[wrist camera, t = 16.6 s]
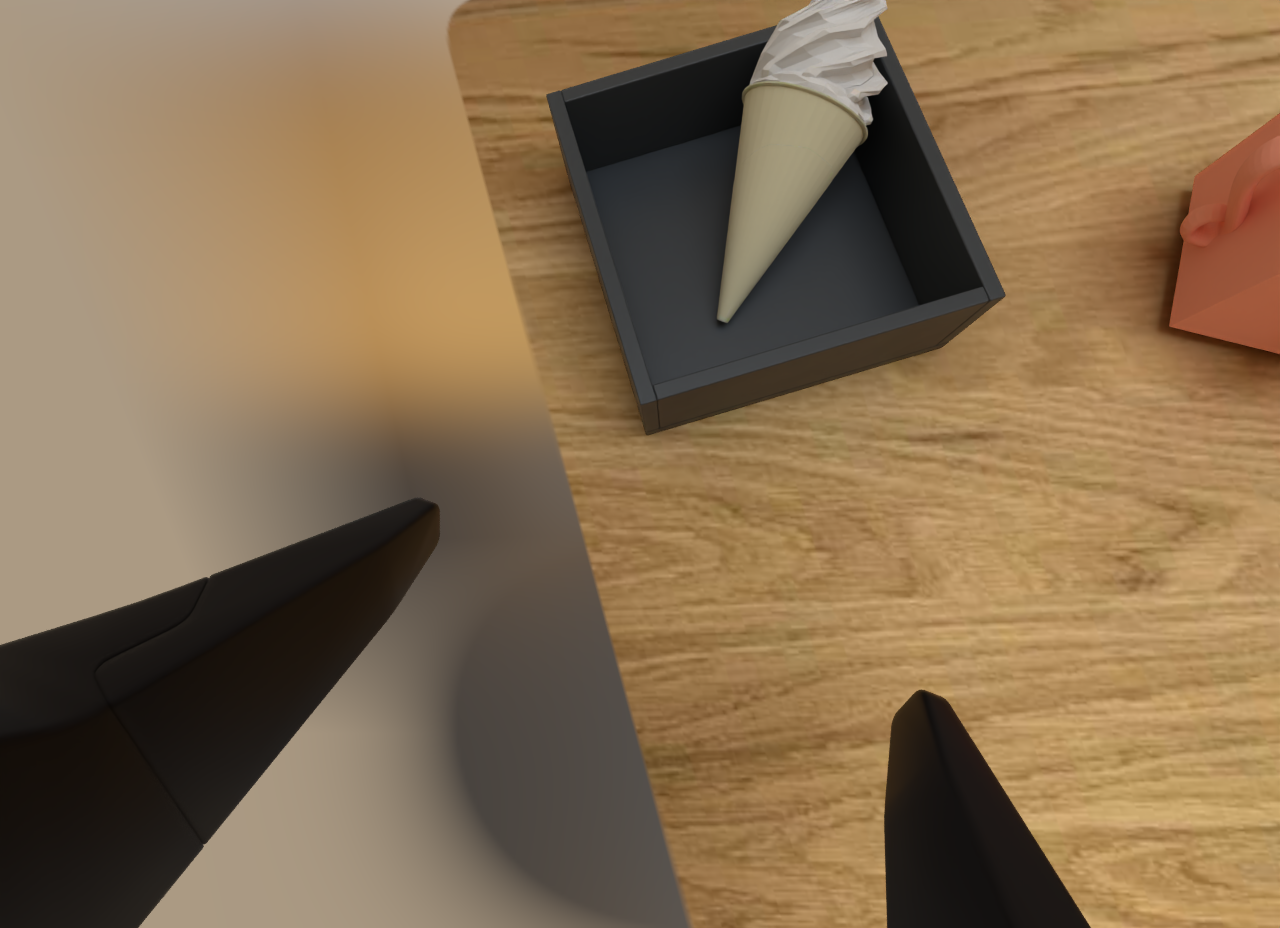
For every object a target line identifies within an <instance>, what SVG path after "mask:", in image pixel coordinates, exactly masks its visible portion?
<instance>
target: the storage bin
mask: <svg viewBox="0 0 1280 928" xmlns="http://www.w3.org/2000/svg"><path fill="white" fill-rule="evenodd" d="M874 23H875V27H876V31H877V35H878V38H879V39H880V41H881V42H882V44H883V45H884V47H885V49H886V52H887V56H884V57H879V58H874V60H873V62H874V64H875V66H876V68H877V69H878V71H879V72H880V74H881V75H882V76H883V77H884V79H885V80H886V81H887V83H888V84H887V85H886V86H885V87H884V88H883V89H882V91H881V92H880V93H879V94H877V95H871V96H867V97H868V100H869V103H870V107H871V113H872V118H873V120H872V122H871V124H870V125H867V126H866V127H867V130H868V136H867V139H866V140H865V141H864V143H863V144H861V145H859V146H858V147H857V148H856V149H855V150H854V152H853V153H852V154H851V156H850V157H849V158H848V160H847V161H846V162H845V164H844V165H843V167H842V168H841V169H840V171H839V172H838V173H837V175H836V176H835V177H834V179H833V180H832V182H831V183H830V185H829V186H828V188H827V189H826V190H825V192H824V193H823V194H822V196H821V197H820V198H819V200H818V201H817V202H816V204H815V205H814V206H813V208H812V209H811V211H810V212H809V213H808V215H807V216H806V217H805V219H804V220H803V221H802V223H801V224H800V225H799V227H798V228H797V230H796V231H795V232H794V234H793V235H792V236H791V238H790V239H789V240H788V242H787V243H786V244H785V246H784V247H783V249H782V250H781V251H780V253H779V254H778V255H777V257H776V258H775V259H774V261H773V262H772V263H771V265H770V266H769V268H768V269H767V270H766V272H765V273H764V274H763V276H762V277H761V278H760V280H759V281H758V282H757V284H756V285H755V286H754V288H753V289H752V291H751V292H750V293H749V295H748V296H747V297H746V299H745V300H744V301H743V303H742V304H741V305H740V307H739V308H738V310H737V311H736V312H735V314H734V315H733V316H732V318H731V319H730V320H729V322H728V323H725V322H723V321H720V320H718V319H717V312H718V304H719V296H720V288H721V280H722V272H723V264H724V256H725V248H726V240H727V232H728V224H729V216H730V208H731V200H732V192H733V184H734V179H735V171H736V163H737V155H738V147H739V139H740V131H741V123H742V115H743V107H744V104H743V102H742V92H743V91H744V89H745V88H746V87H747V86H749V84H750V81H751V78H752V76H753V73H754V71H755V68H756V65H757V63H758V60H759V58H760V55H761V53H762V51H763V49H764V47H765V46H766V44H767V42H768V40H769V39H770V37H771V35H772V34H773V32H774V30H775V28H776V27H777V25H776V26H773V27H769V28H766V29H763V30H760V31H756V32H753V33H750V34H746V35H743V36H740V37H736V38H733V39H730V40H726V41H723V42H720V43H716V44H713V45H710V46H706V47H703V48H700V49H696V50H693V51H690V52H686V53H683V54H680V55H677V56H673V57H670V58H667V59H663V60H660V61H657V62H653V63H650V64H647V65H643V66H640V67H637V68H633V69H630V70H627V71H623V72H620V73H617V74H613V75H610V76H607V77H604V78H600V79H597V80H594V81H590V82H587V83H584V84H580V85H577V86H574V87H570V88H567V89H564V90H562V91H557V92H553V93H550V94H547V100H548V104H549V108H550V111H551V115H552V119H553V122H554V126H555V130H556V134H557V137H558V141H559V145H560V149H561V152H562V156H563V160H564V163H565V167H566V171H567V175H568V178H569V181H570V185H571V188H572V191H573V195H574V198H575V201H576V204H577V208H578V211H579V214H580V218H581V221H582V224H583V228H584V231H585V234H586V237H587V241H588V244H589V247H590V251H591V254H592V257H593V261H594V264H595V267H596V270H597V274H598V277H599V280H600V284H601V287H602V290H603V294H604V297H605V300H606V303H607V307H608V310H609V313H610V317H611V320H612V323H613V327H614V330H615V333H616V337H617V340H618V343H619V346H620V350H621V353H622V356H623V360H624V363H625V366H626V370H627V373H628V376H629V379H630V383H631V386H632V389H633V393H634V396H635V399H636V403H637V406H638V409H639V412H640V416H641V419H642V422H643V426H644V429H645V432H646V435H650V434H653V433H656V432H660V431H663V430H667V429H670V428H673V427H677V426H680V425H683V424H687V423H690V422H693V421H697V420H700V419H703V418H707V417H710V416H713V415H717V414H720V413H724V412H727V411H730V410H734V409H737V408H740V407H744V406H747V405H750V404H754V403H757V402H760V401H764V400H767V399H770V398H774V397H777V396H781V395H784V394H787V393H791V392H794V391H797V390H801V389H804V388H807V387H811V386H814V385H817V384H821V383H824V382H827V381H831V380H834V379H837V378H841V377H844V376H848V375H851V374H854V373H858V372H861V371H864V370H868V369H871V368H874V367H878V366H881V365H884V364H888V363H891V362H894V361H898V360H901V359H905V358H908V357H911V356H915V355H918V354H921V353H925V352H928V351H931V350H935V349H938V348H941V347H943V346H944V345H946V344H947V343H948V342H949V341H950V340H952V339H953V338H954V337H955V336H957V335H958V334H959V333H960V332H962V331H963V330H964V329H965V328H967V327H968V326H969V325H970V324H972V323H973V322H974V321H975V320H977V319H978V318H979V317H980V316H981V315H983V314H984V313H985V312H986V311H988V310H989V309H990V308H991V307H993V306H994V305H995V304H996V303H998V302H999V301H1000V300H1001V299H1003V298H1004V297H1005V292H1004V290H1003V288H1002V286H1001V284H1000V281H999V279H998V277H997V275H996V273H995V271H994V268H993V266H992V264H991V262H990V260H989V257H988V255H987V253H986V251H985V249H984V246H983V244H982V242H981V240H980V238H979V236H978V233H977V231H976V229H975V227H974V225H973V222H972V220H971V218H970V216H969V214H968V211H967V209H966V207H965V205H964V203H963V201H962V198H961V196H960V194H959V192H958V190H957V187H956V185H955V183H954V181H953V179H952V177H951V174H950V172H949V170H948V168H947V166H946V163H945V161H944V159H943V157H942V155H941V152H940V150H939V148H938V146H937V144H936V142H935V139H934V137H933V135H932V133H931V131H930V128H929V126H928V124H927V122H926V120H925V117H924V115H923V113H922V111H921V109H920V107H919V104H918V102H917V100H916V98H915V96H914V93H913V91H912V89H911V87H910V85H909V83H908V80H907V78H906V76H905V74H904V72H903V69H902V67H901V65H900V63H899V61H898V58H897V56H896V54H895V52H894V50H893V48H892V45H891V43H890V41H889V39H888V37H887V34H886V32H885V30H884V28H883V26H882V23H881V21H880V19H879V17H877V18H875V19H874Z"/></svg>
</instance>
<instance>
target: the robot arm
mask: <svg viewBox="0 0 1280 928" xmlns="http://www.w3.org/2000/svg"><path fill="white" fill-rule="evenodd" d="M439 537H440V510H439V507H438V505H437V504H435V503H433V502H430V501H428V500H425V499H423V498H414V499H411V500H408V501H405V502H403V503H400V504H398V505H395V506H392V507H390V508H387V509H384V510H382V511H379V512H377V513H374V514H371V515H369V516H366V517H364V518H361V519H358V520H355V521H353V522H350V523H348V524H345V525H342V526H340V527H337V528H334V529H332V530H329V531H326V532H324V533H321V534H318V535H316V536H313V537H311V538H308V539H305V540H303V541H300V542H297V543H295V544H292V545H289V546H287V547H285V548H282V549H279V550H276V551H274V552H271V553H268V554H266V555H263V556H260V557H258V558H255V559H253V560H250V561H247V562H245V563H242V564H240V565H237V566H234V567H231V568H229V569H226V570H223V571H221V572H218V573H216V574H213V575H211V576H210V578H207V577H205V578H202V579H199V580H197V581H194V582H191V583H189V584H186V585H184V586H181V587H178V588H175V589H173V590H170V591H167V592H164V593H161V594H159V595H156V596H153V597H151V598H147V599H145V600H142V601H139V602H136V603H133V604H130V605H127V606H124V607H121V608H118V609H115V610H111V611H108V612H105V613H102V614H99V615H96V616H93V617H90V618H87V619H83V620H80V621H77V622H73V623H70V624H67V625H64V626H60V627H57V628H55V629H51V630H47V631H44V632H41V633H38V634H34V635H31V636H28V637H25V638H22V639H18V640H15V641H12V642H9V643H5V644H2V645H0V928H138V927H139V926H140V925H141V924H142V922H143V921H144V920H145V918H147V916H148V915H149V914H150V913H151V911H152V910H153V909H154V908H155V906H156V905H157V904H158V903H159V902H160V900H161V899H162V898H163V897H164V895H165V894H166V893H167V892H168V890H169V889H170V888H171V886H172V885H173V884H174V883H175V882H176V881H177V879H178V878H179V877H180V876H181V874H182V873H183V872H184V871H185V870H186V868H187V867H188V866H189V864H190V863H191V862H192V861H193V860H194V858H195V857H196V856H197V855H198V853H199V852H200V851H201V850H202V848H203V847H204V846H203V844H206V843H207V842H208V840H209V839H210V838H211V837H212V835H213V834H214V833H215V832H216V831H217V829H218V828H219V827H220V826H221V824H222V823H223V822H224V821H225V820H226V818H227V817H228V816H229V815H230V813H231V812H232V811H233V810H234V809H235V807H236V806H237V805H238V804H239V802H240V801H241V800H242V799H243V797H244V796H245V795H246V794H247V792H248V791H249V790H250V789H251V788H252V786H253V785H254V784H255V783H256V782H257V780H258V779H259V778H260V777H261V775H262V774H263V773H264V772H265V770H266V769H267V768H268V767H269V766H270V764H271V763H272V762H273V760H274V759H275V758H276V757H277V756H278V754H279V753H280V752H281V751H282V749H283V748H284V747H285V746H286V745H287V743H288V742H289V741H290V740H291V738H292V737H293V736H294V735H295V733H296V732H297V731H298V730H299V729H300V727H301V726H302V724H304V722H305V721H306V720H307V719H308V717H309V716H310V715H311V714H312V713H313V711H314V710H315V709H316V708H317V706H318V705H319V704H320V703H321V701H322V700H323V699H324V698H325V697H326V695H327V694H328V693H329V692H330V690H331V689H332V688H333V687H334V685H335V684H336V683H337V682H338V681H339V679H340V678H341V677H342V675H343V674H344V673H345V672H346V671H347V669H348V668H349V667H350V666H351V664H352V663H353V662H354V661H355V660H356V658H357V657H358V656H359V655H360V653H361V652H362V651H363V650H364V648H365V647H366V646H367V645H368V643H369V642H370V641H371V640H372V639H373V637H374V636H375V635H376V634H377V632H378V631H379V630H380V629H381V628H382V626H383V625H384V624H385V623H386V621H387V620H388V619H389V617H390V615H392V613H393V612H394V610H395V609H396V607H397V606H398V605H399V603H400V602H401V600H402V598H403V597H404V596H405V594H406V592H407V591H408V589H409V588H410V586H411V585H412V583H413V582H414V580H415V578H416V577H417V575H418V574H419V572H420V571H421V569H422V568H423V566H424V565H425V563H426V561H427V560H428V558H429V557H430V555H431V554H432V552H433V551H434V549H435V547H436V546H437V543H438V540H439ZM884 833H885V868H886V902H887V928H1091V927H1090V926H1089V924H1088V923H1087V921H1086V919H1085V918H1084V916H1083V915H1082V913H1081V911H1080V910H1079V908H1078V907H1077V905H1076V904H1075V902H1074V900H1073V899H1072V897H1071V896H1070V894H1069V892H1068V891H1067V889H1066V888H1065V886H1064V884H1063V883H1062V881H1061V880H1060V878H1059V877H1058V875H1057V873H1056V872H1055V870H1054V869H1053V867H1052V865H1051V864H1050V862H1049V861H1048V859H1047V858H1046V856H1045V854H1044V853H1043V851H1042V850H1041V848H1040V846H1039V845H1038V843H1037V842H1036V840H1035V839H1034V837H1033V835H1032V834H1031V832H1030V831H1029V829H1028V827H1027V826H1026V824H1025V823H1024V821H1023V820H1022V818H1021V816H1020V815H1019V813H1018V812H1017V810H1016V808H1015V807H1014V805H1013V804H1012V802H1011V801H1010V799H1009V797H1008V796H1007V794H1006V793H1005V791H1004V789H1003V788H1002V786H1001V785H1000V783H999V782H998V780H997V778H996V777H995V775H994V774H993V772H992V770H991V769H990V767H989V766H988V764H987V763H986V761H985V759H984V758H983V756H982V755H981V753H980V751H979V750H978V748H977V747H976V745H975V743H974V742H973V740H972V739H971V737H970V736H969V734H968V732H967V731H966V729H965V728H964V726H963V724H962V723H961V721H960V720H959V718H958V717H957V715H956V713H955V712H954V710H953V709H952V707H951V705H950V704H949V703H948V701H947V700H946V699H944V698H943V697H941V696H938V695H936V694H933V693H931V692H928V691H925V690H918V691H916V692H915V693H914V694H913V695H912V696H911V697H910V698H909V700H908V701H907V702H906V703H905V704H904V705H903V706H902V707H901V708H900V709H899V710H898V711H897V713H896V714H895V716H894V718H893V721H892V726H891V737H890V749H889V761H888V773H887V785H886V797H885V814H884Z"/></svg>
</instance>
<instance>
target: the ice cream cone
mask: <svg viewBox="0 0 1280 928" xmlns="http://www.w3.org/2000/svg"><path fill="white" fill-rule="evenodd" d="M886 9H887V5H886V0H812V1H811V2H810V4H809V5H808V6H807V7H805V8H803V9H801V10H799V11H797V12H795V13H793V14H792V15H790V16H788V17H786V18H784V19H782V20H780V21H779V23H778V25H777V27H776V28H775V30H774V32H773V34H772V35H771V37H770V39H769V40H768V42H767V44H766V46H765V47H764V49H763V51H762V53H761V55H760V58H759V60H758V63H757V65H756V68H755V71H754V73H753V76H752V78H751V81H750V84H749V86H747V87H746V88H745V89H744V91H743V92H742V102H743V104H744V107H743V115H742V123H741V131H740V139H739V147H738V155H737V163H736V171H735V179H734V184H733V192H732V200H731V208H730V216H729V224H728V232H727V240H726V248H725V256H724V264H723V272H722V280H721V288H720V296H719V304H718V312H717V319H718V320H720V321H723V322H725V323H728V322H729V320H730V319H731V318H732V316H733V315H734V314H735V312H736V311H737V310H738V308H739V307H740V305H741V304H742V303H743V301H744V300H745V299H746V297H747V296H748V295H749V293H750V292H751V291H752V289H753V288H754V286H755V285H756V284H757V282H758V281H759V280H760V278H761V277H762V276H763V274H764V273H765V272H766V270H767V269H768V268H769V266H770V265H771V263H772V262H773V261H774V259H775V258H776V257H777V255H778V254H779V253H780V251H781V250H782V249H783V247H784V246H785V244H786V243H787V242H788V240H789V239H790V238H791V236H792V235H793V234H794V232H795V231H796V230H797V228H798V227H799V225H800V224H801V223H802V221H803V220H804V219H805V217H806V216H807V215H808V213H809V212H810V211H811V209H812V208H813V206H814V205H815V204H816V202H817V201H818V200H819V198H820V197H821V196H822V194H823V193H824V192H825V190H826V189H827V188H828V186H829V185H830V183H831V182H832V180H833V179H834V177H835V176H836V175H837V173H838V172H839V171H840V169H841V168H842V167H843V165H844V164H845V162H846V161H847V160H848V158H849V157H850V156H851V154H852V153H853V152H854V150H855V149H856V148H857V147H858V146H859V145H861V144H863V143H864V141H865V140H866V139H867V136H868V130H867V127H866V126H867V125H870V124H871V122H872V120H873V118H872V113H871V107H870V103H869V100H868V97H867V96H871V95H877V94H879V93H880V92H881V91H882V89H883V88H884V87H885V86H886V85H887V84H888V83H887V81H886V80H885V79H884V77H883V76H882V75H881V74H880V72H879V71H878V69H877V68H876V66H875V64H874V62H873V60H874V58H879V57H884V56H887V52H886V49H885V47H884V45H883V44H882V42H881V41H880V39H879V38H878V35H877V31H876V27H875V23H874V19H875V18H877V17H878V16H879V15H880V14H882V13H883V12H884V11H885V10H886Z"/></svg>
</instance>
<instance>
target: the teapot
mask: <svg viewBox="0 0 1280 928" xmlns="http://www.w3.org/2000/svg"><path fill="white" fill-rule="evenodd" d="M1180 234H1181V236H1182V238H1183V240H1184V242H1183V248H1182V254H1181V260H1180V266H1179V272H1178V277H1177V283H1176V289H1175V295H1174V300H1173V306H1172V312H1171V318H1170V324H1169V326H1170V327H1173V328H1177V329H1181V330H1185V331H1189V332H1193V333H1197V334H1201V335H1205V336H1209V337H1213V338H1217V339H1221V340H1226V341H1230V342H1234V343H1238V344H1242V345H1246V346H1250V347H1254V348H1258V349H1262V350H1266V351H1270V352H1274V353H1278V354H1280V113H1279V114H1278V115H1277V116H1275V117H1274V118H1273V119H1271V120H1270V121H1269V122H1267V123H1266V124H1265V125H1263V126H1262V127H1261V128H1259V129H1258V130H1257V131H1255V132H1254V133H1253V134H1251V135H1250V136H1248V137H1247V138H1246V139H1244V140H1243V141H1242V142H1240V143H1239V144H1238V145H1236V146H1235V147H1234V148H1232V149H1231V150H1230V151H1228V152H1227V153H1226V154H1224V155H1223V156H1222V157H1220V158H1219V159H1217V160H1216V161H1215V162H1213V163H1212V164H1211V165H1209V166H1208V167H1207V168H1205V169H1204V170H1203V171H1201V172H1200V173H1199V174H1197V175H1196V176H1195V179H1194V184H1193V190H1192V196H1191V202H1190V208H1189V214H1188V215H1187V216H1186V217H1185V219H1184V220H1183V222H1182V224H1181V227H1180Z"/></svg>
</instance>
